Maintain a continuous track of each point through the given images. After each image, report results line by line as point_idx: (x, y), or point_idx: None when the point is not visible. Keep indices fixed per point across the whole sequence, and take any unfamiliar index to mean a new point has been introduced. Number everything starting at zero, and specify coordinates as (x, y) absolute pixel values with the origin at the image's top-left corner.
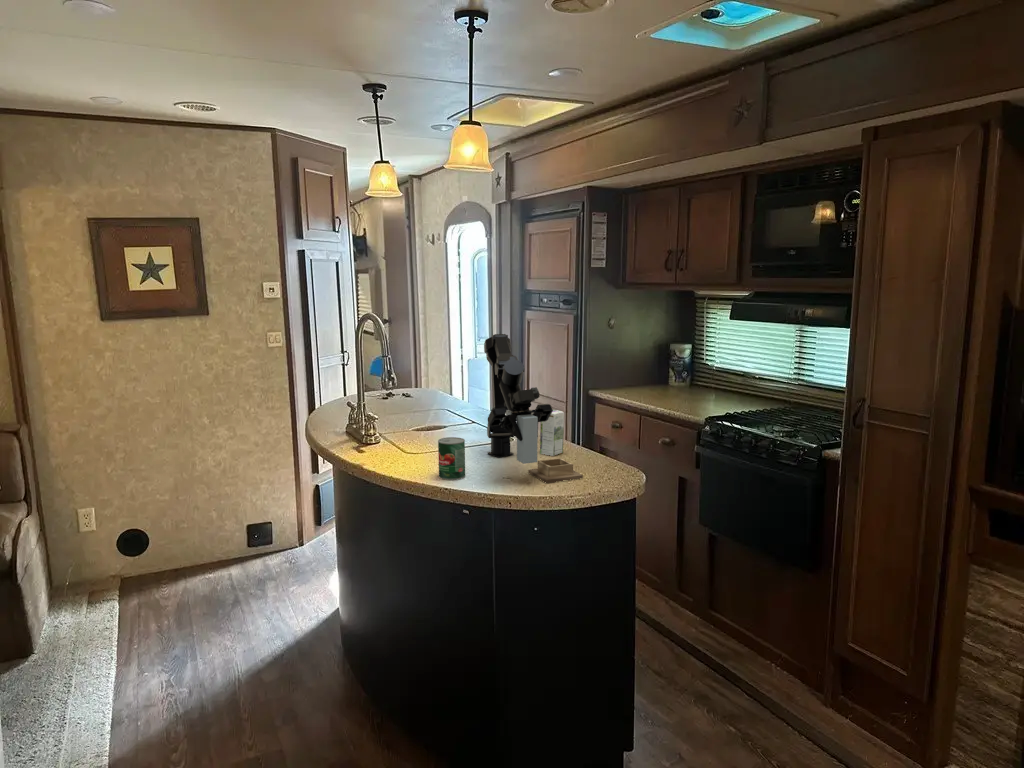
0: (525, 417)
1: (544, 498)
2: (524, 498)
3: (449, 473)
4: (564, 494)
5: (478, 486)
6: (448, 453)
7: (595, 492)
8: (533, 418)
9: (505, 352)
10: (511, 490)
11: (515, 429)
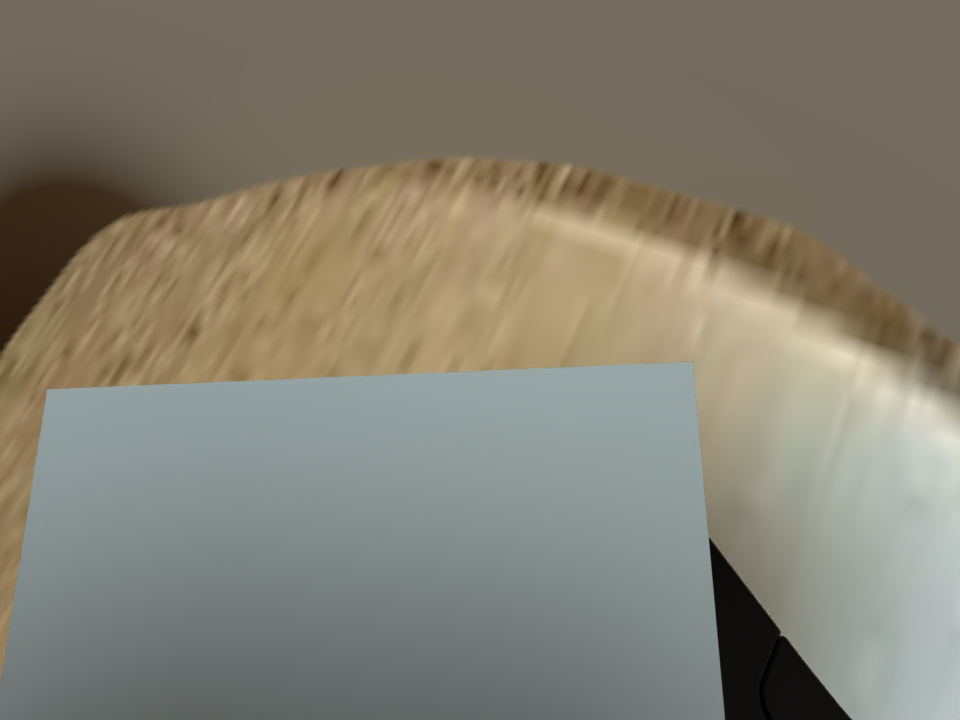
0: (498, 541)
1: (583, 172)
2: (694, 203)
3: None
4: (452, 203)
5: (941, 565)
6: None
7: (301, 187)
8: (228, 388)
9: None
10: (717, 375)
11: (777, 638)
